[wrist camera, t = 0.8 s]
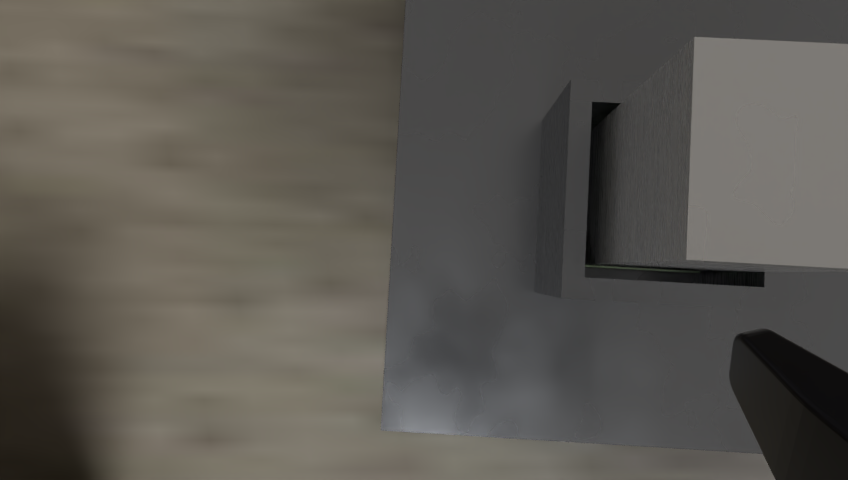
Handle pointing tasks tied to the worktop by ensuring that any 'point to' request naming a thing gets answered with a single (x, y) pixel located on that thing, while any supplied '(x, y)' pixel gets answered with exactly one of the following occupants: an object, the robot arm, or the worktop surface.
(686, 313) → the stand
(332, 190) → the worktop surface
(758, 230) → the column
